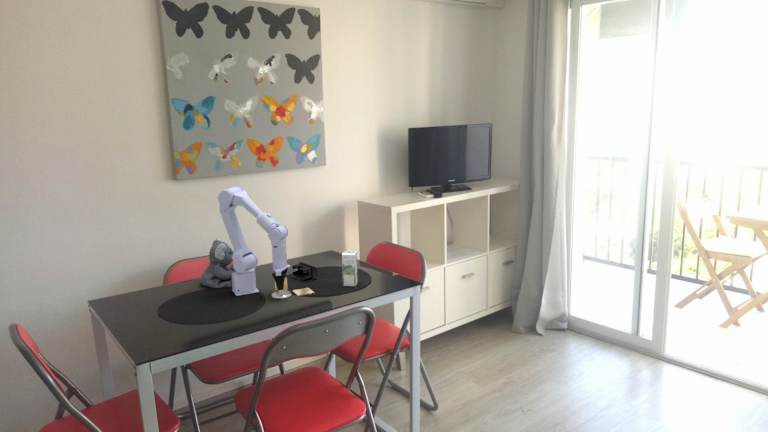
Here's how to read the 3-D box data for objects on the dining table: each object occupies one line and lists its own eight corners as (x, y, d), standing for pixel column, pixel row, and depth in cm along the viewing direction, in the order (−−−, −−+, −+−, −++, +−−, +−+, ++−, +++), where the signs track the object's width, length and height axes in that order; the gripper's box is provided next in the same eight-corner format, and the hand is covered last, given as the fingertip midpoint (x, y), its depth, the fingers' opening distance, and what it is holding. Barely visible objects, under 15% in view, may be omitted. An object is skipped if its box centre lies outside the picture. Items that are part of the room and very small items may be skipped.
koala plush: (245, 286, 234) (242, 242, 230) (202, 292, 228) (198, 247, 224) (240, 275, 250) (237, 234, 246) (199, 280, 243) (196, 238, 239)
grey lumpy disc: (275, 300, 217) (274, 292, 217) (269, 294, 224) (268, 287, 224) (294, 296, 221) (293, 289, 220) (287, 290, 228) (287, 284, 227)
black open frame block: (318, 279, 243) (317, 264, 241) (305, 283, 238) (304, 268, 237) (305, 274, 250) (304, 260, 248) (292, 278, 245) (291, 263, 244)
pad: (298, 296, 221) (298, 295, 221) (292, 291, 227) (292, 290, 227) (314, 293, 224) (314, 292, 224) (308, 288, 231) (308, 287, 230)
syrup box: (357, 282, 237) (357, 250, 234) (355, 287, 232) (354, 254, 229) (344, 282, 238) (343, 250, 235) (342, 286, 232) (341, 254, 229)
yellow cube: (287, 290, 220) (286, 279, 219) (274, 290, 219) (273, 279, 218) (287, 286, 225) (287, 275, 224) (275, 286, 224) (274, 275, 223)
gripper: (287, 260, 212) (289, 293, 215) (291, 250, 227) (292, 281, 229) (269, 260, 212) (271, 293, 215) (273, 250, 226) (275, 282, 229)
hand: (281, 287), depth 222 cm, fingers closed on yellow cube, 5 cm apart
